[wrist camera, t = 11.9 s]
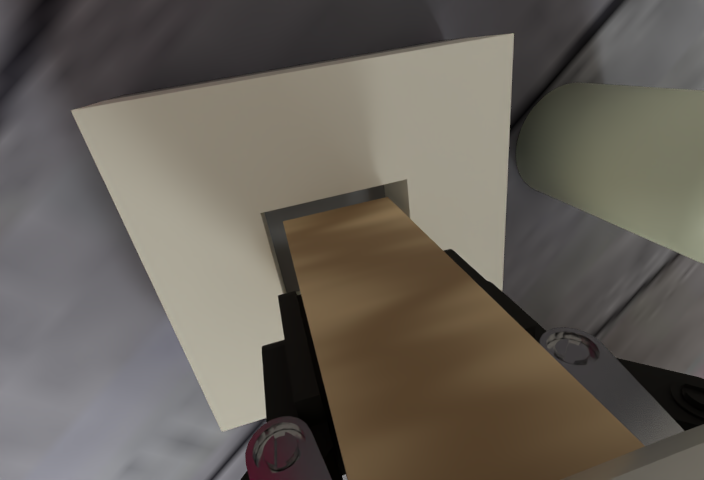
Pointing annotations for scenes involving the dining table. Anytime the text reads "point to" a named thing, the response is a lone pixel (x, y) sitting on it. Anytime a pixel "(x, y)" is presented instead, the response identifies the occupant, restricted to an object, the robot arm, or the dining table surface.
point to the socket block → (299, 183)
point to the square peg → (434, 361)
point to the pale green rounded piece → (622, 158)
